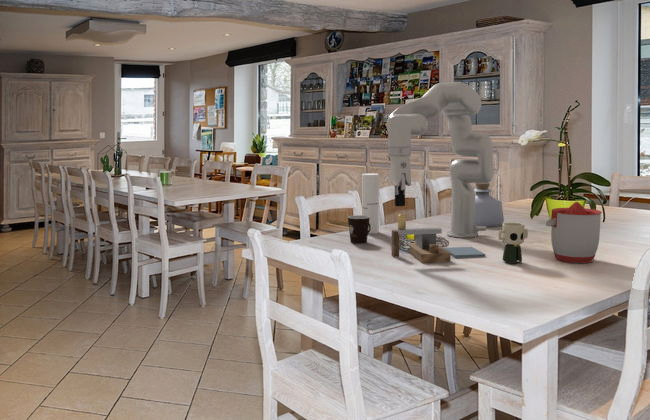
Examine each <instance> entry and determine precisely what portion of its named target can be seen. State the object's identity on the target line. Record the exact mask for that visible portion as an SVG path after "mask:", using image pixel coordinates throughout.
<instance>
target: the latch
mask: <svg viewBox="0 0 650 420" xmlns="http://www.w3.org/2000/svg"><path fill="white" fill-rule="evenodd" d="M406 221H407V215H406V214H404V213H401V214H400V213H399V214H397V230H398V234H399V236H404V235H405V236H407V235H411V236H412V235H414V234H436V235H437V234H439V235H440V234H442V233H443V232H442V230H443V229H442V228H441V227H417V228H416V227H415V228H413V227H412V228H406V223H407V222H406Z"/></svg>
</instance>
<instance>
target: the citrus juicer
mask: <svg viewBox="0 0 650 420" xmlns="http://www.w3.org/2000/svg"><path fill="white" fill-rule="evenodd" d="M602 213H603V212H602V211H601V210H599V209H593V208H586V207H585V208H584V206H583V205H582V204H581V203H580V202H578V201H575V202H573V203H572V204H571V205H570V206H569V207H557V208H552V209H551V214H550V215H551V217H550V219H548V220H547V221H546V222H545V226H546V227H551V230H550V231H551V234H550V235H551V237H550V238H551V246H552V250H553V255H554V258H555V259H556V260H558V261H560V262H563V263H566V264H570V263H575V264H576V263H577V264H590V263H591V262H593V260H594V259H595V257H596V254H597V251H598V248H599V243H600V235H601V233H600V232H601V216H602Z"/></svg>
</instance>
